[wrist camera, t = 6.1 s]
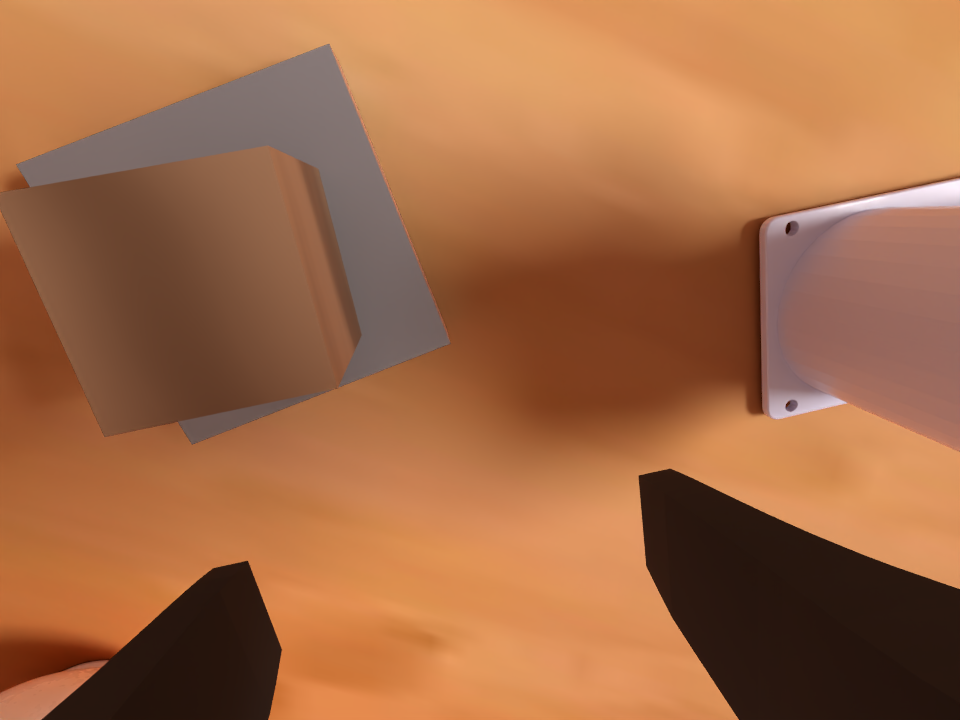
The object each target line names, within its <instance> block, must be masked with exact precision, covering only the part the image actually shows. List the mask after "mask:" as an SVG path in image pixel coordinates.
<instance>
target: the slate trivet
mask: <svg viewBox="0 0 960 720" xmlns="http://www.w3.org/2000/svg"><path fill="white" fill-rule="evenodd" d="M262 146H270V147H272V148H274V149H277V150H279V151H281V152H283V153H285V154H287V155H290V156H292V157H294V158H296V159H298V160H301V161H303V162H305V163H307V164H309V165H311V166H314V167H316V168H318V169H319V173H320V177H321V180H322V184H323V188H324V192H325V196H326V200H327V203H328V207H329V211H330V215H331V219H332V223H333V226H334V230H335V234H336V238H337V242H338V246H339V249H340V253H341V257H342V261H343V265H344V269H345V272H346V276H347V280H348V284H349V288H350V291H351V295H352V299H353V303H354V307H355V311H356V314H357V318H358V322H359V326H360V330H361V334H362V336H361V338H360V340H359V343H358V345H357V347H356V349H355V351H354V354H353V356H352V358H351V360H350V362H349V365H348V367H347V369H346V371H345V373H344V376H343V378H342V380H341V382H340V384H339V387H341V386H343V385H346V384H349V383H351V382H354V381H356V380H359V379H361V378H364V377H366V376H369V375H372V374H374V373H377V372H379V371H382V370H384V369H387V368H389V367H392V366H395V365H397V364H400V363H402V362H405V361H407V360H410V359H412V358H415V357H418V356H420V355H423V354H425V353H428V352H430V351H433V350H436V349H438V348H441V347H443V346H446V345H448V344H451V343H450V339H449V335H448V331H447V328H446V326H445V323H444V321H443V318H442V316H441V313H440V311H439V308H438V306H437V303H436V301H435V298H434V296H433V293H432V291H431V288H430V286H429V283H428V281H427V278H426V276H425V274H424V271H423V269H422V266H421V264H420V261H419V259H418V256H417V254H416V251H415V249H414V246H413V244H412V241H411V239H410V236H409V234H408V231H407V229H406V226H405V224H404V221H403V219H402V217H401V214H400V212H399V209H398V207H397V204H396V202H395V199H394V197H393V194H392V192H391V189H390V187H389V184H388V182H387V179H386V177H385V174H384V172H383V169H382V167H381V164H380V162H379V159H378V157H377V155H376V152H375V150H374V147H373V145H372V142H371V140H370V137H369V135H368V132H367V130H366V127H365V125H364V122H363V120H362V117H361V115H360V112H359V110H358V107H357V105H356V102H355V100H354V98H353V95H352V93H351V90H350V88H349V85H348V83H347V80H346V78H345V75H344V73H343V70H342V68H341V65H340V63H339V61H338V59H337V58H336V56H335V54H334V52H333V50H332V48H331V46H330V44H327V45H324V46H322V47H319V48H317V49H314V50H311V51H309V52H306V53H304V54H301V55H298V56H296V57H293V58H291V59H288V60H285V61H283V62H280V63H278V64H275V65H273V66H270V67H267V68H265V69H262V70H260V71H257V72H254V73H252V74H249V75H247V76H244V77H241V78H239V79H236V80H234V81H231V82H229V83H226V84H223V85H221V86H218V87H216V88H213V89H210V90H208V91H205V92H203V93H200V94H197V95H195V96H192V97H190V98H187V99H185V100H182V101H179V102H177V103H174V104H172V105H169V106H166V107H164V108H161V109H159V110H156V111H153V112H151V113H148V114H146V115H143V116H141V117H138V118H135V119H133V120H130V121H128V122H125V123H122V124H120V125H117V126H115V127H112V128H109V129H107V130H104V131H102V132H99V133H97V134H94V135H91V136H89V137H86V138H84V139H81V140H78V141H76V142H73V143H71V144H68V145H65V146H63V147H60V148H58V149H55V150H53V151H50V152H47V153H45V154H42V155H40V156H37V157H34V158H32V159H29V160H27V161H24V162H21V163H19V164H16V165H17V167H18V169H19V170H20V172H21V173H22V175H23V176H24V178H25V180H26V181H27V183H28V184H29V186H30V187H34V186H40V185H46V184H51V183H57V182H63V181H69V180H74V179H80V178H86V177H91V176H97V175H103V174H108V173H114V172H120V171H126V170H131V169H137V168H143V167H148V166H154V165H160V164H165V163H171V162H177V161H183V160H188V159H194V158H200V157H205V156H211V155H217V154H222V153H228V152H234V151H240V150H245V149H251V148H257V147H262ZM332 390H333V389H332ZM328 391H331V390H327V391H323V392H318V393H313V394H308V395H303V396H299V397H294V398H289V399H284V400H280V401H275V402H270V403H265V404H260V405H256V406H251V407H246V408H241V409H237V410H232V411H227V412H222V413H217V414H213V415H208V416H203V417H198V418H194V419H189V420H184V421H179V422H178V423H179V425H180V426H181V428H182V429H183V431H184V433H185V434H186V436H187V437H188V439H189V440H190V442H191V444H195V443H198V442H200V441H203V440H205V439H208V438H210V437H213V436H215V435H218V434H221V433H223V432H226V431H228V430H231V429H233V428H236V427H238V426H241V425H244V424H246V423H249V422H251V421H254V420H256V419H259V418H261V417H264V416H267V415H269V414H272V413H274V412H277V411H279V410H282V409H285V408H287V407H290V406H292V405H295V404H297V403H300V402H302V401H305V400H308V399H310V398H313V397H315V396H318V395H320V394H323V393H325V392H328Z"/></svg>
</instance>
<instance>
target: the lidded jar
mask: <svg viewBox="0 0 960 720" xmlns="http://www.w3.org/2000/svg"><path fill="white" fill-rule="evenodd" d="M108 661H109V660H100V661H92V662H87V663H83V664H79V665H76V666H74V667H71V668H68V669H67V670H65V671H63V672H58V673H53V674H49V675H46V676H42V677H38V678H35V679H33V680H30V681H27V682H24V683H21V684H19V685H16V686H14V687H12V688H10V689H7V690H5V691H3V692H1V693H0V720H41V719H42V718H44V717H45V716H46V715H47V714H48V713H49V712H51V711H52V710H53V709H54V708H55V707H56V706H58V705H59V704H60V703H61V702H62V701H63V700H65V699H66V698H67V697H68V696H69V695H70V694H72V693H73V692H74V691H75V690H76V689H77V688H78V687H80V686H81V685H82V684H83V683H84V682H85V681H87V680H88V679H89V678H90V677H91V676H92V675H93V674H95V673H96V672H97V671H98V670H99V669H100V668H101V667H102V666H104V665H105V664H106V663H107V662H108Z"/></svg>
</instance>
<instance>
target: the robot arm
mask: <svg viewBox="0 0 960 720" xmlns="http://www.w3.org/2000/svg"><path fill="white" fill-rule="evenodd" d="M789 222H790V224H791V229H790V231H789V233H788V234H786V231H785V228H786V225H787V224H788V223H789ZM759 240H760V299H761V359H762V409H763V412H764V413H765V415H767V416H769V417H770V418H773V419H782V418H786V417H790V416H795V415H799V414H803V413H807V412H812V411H816V410H820V409H824V408H829V407H833V406H837V405H841V404H846V403H849V404H851V405H854V406H856V407H858V408H861V409H863V410H865V411H868V412H870V413H872V414H874V415H877V416H879V417H881V418H884V419H886V420H888V421H890V422H893V423H895V424H897V425H900V426H902V427H904V428H906V429H909V430H911V431H913V432H916V433H918V434H920V435H923V436H925V437H927V438H929V439H932V440H934V441H936V442H939V443H941V444H943V445H945V446H948V447H950V448H952V449H955V450H957V451H959V452H960V178H955V179H950V180H945V181H941V182H936V183H931V184H926V185H922V186H917V187H912V188H907V189H903V190H898V191H893V192H888V193H883V194H879V195H874V196H869V197H864V198H860V199H855V200H850V201H845V202H840V203H836V204H831V205H826V206H821V207H817V208H812V209H807V210H802V211H797V212H793V213H788V214H783V215H778V216H774V217H771V218H768V219H767V220H766V221H764V222H763V224H762V226H761V228H760V233H759ZM790 400H791V401H790ZM788 401H790V404H789V405H788V407H786V408H785V406H786V403H787V402H788ZM639 486H640V498H641V509H642V521H643V533H644V544H645V556H646V566H647V568H648V570H649V572H650V574H651V576H652V579H653V581H654V583H655V585H656V587H657V589H658V591H659V593H660V595H661V597H662V599H663V601H664V603H665V604H666V606H667V608H668V610H669V612H670V614H671V616H672V618H673V620H674V621H675V623H676V624H677V626H678V627H679V629H680V631H681V632H682V634H683V635H684V637H685V638H686V640H687V641H688V643H689V644H690V646H691V647H692V649H693V651H694V652H695V654H696V655H697V657H698V658H699V660H700V661H701V663H702V664H703V666H704V667H705V669H706V670H707V672H708V673H709V675H710V676H711V678H712V679H713V681H714V683H715V684H716V686H717V687H718V689H719V690H720V692H721V693H722V695H723V696H724V698H725V699H726V701H727V702H728V704H729V705H730V707H731V708H732V710H733V711H734V713H735V714H736V716H737V717H738V719H739V720H960V589H957V588H954V587H952V586H949V585H946V584H943V583H940V582H937V581H934V580H931V579H928V578H926V577H923V576H920V575H917V574H914V573H911V572H908V571H905V570H903V569H900V568H897V567H894V566H891V565H889V564H886V563H883V562H881V561H878V560H875V559H873V558H870V557H867V556H865V555H862V554H860V553H857V552H855V551H852V550H850V549H847V548H845V547H843V546H840V545H838V544H835V543H833V542H830V541H828V540H825V539H823V538H821V537H818V536H816V535H813V534H811V533H809V532H806V531H804V530H802V529H800V528H797V527H795V526H793V525H790V524H788V523H786V522H784V521H781V520H779V519H777V518H775V517H773V516H770V515H768V514H766V513H764V512H762V511H760V510H758V509H755V508H753V507H751V506H749V505H747V504H745V503H743V502H741V501H739V500H736V499H734V498H732V497H730V496H728V495H726V494H724V493H722V492H720V491H718V490H716V489H714V488H712V487H709V486H707V485H705V484H703V483H701V482H699V481H697V480H695V479H693V478H690V477H688V476H686V475H684V474H682V473H679V472H677V471H675V470H672V469H667V470H662V471H657V472H653V473H648V474H644V475H639ZM281 651H282V649H281V646H280V644H279V641H278V638H277V636H276V633H275V631H274V628H273V625H272V623H271V620H270V617H269V615H268V612H267V610H266V607H265V604H264V602H263V599H262V597H261V594H260V591H259V589H258V586H257V583H256V581H255V578H254V576H253V573H252V570H251V568H250V565H249V563H248V561H245V562H240V563H236V564H231V565H226V566H222V567H217V568H213V569H212V570H211V571H209V572H208V573H207V574H205V575H204V576H203V577H202V578H200V579H199V580H198V581H197V582H196V583H194V584H193V585H192V586H191V587H190V588H189V589H188V590H186V591H185V592H184V593H183V594H182V595H181V596H180V597H179V598H177V599H176V600H175V601H174V602H173V603H172V604H171V605H170V606H169V607H167V608H166V609H165V610H164V611H163V612H162V613H161V614H160V615H159V616H158V617H156V618H155V619H154V620H153V621H152V622H151V623H150V624H149V625H148V626H147V627H145V628H144V629H143V630H142V631H141V632H140V633H139V634H138V635H137V636H136V637H134V638H133V639H132V640H131V641H130V642H129V643H128V644H127V645H126V646H124V647H123V648H122V649H121V650H120V651H119V652H118V653H117V654H116V655H115V656H113V657H112V658H111V659H110V660H109V661H108V662H107V663H106V664H105V665H104V666H102V667H101V668H100V669H99V670H98V671H97V672H96V673H95V674H93V675H92V676H91V677H90V678H89V679H88V680H87V681H85V682H84V683H83V684H82V685H81V686H80V687H78V688H77V689H76V690H75V691H74V692H73V693H72V694H70V695H69V696H68V697H67V698H66V699H65V700H63V701H62V702H61V703H60V704H59V705H58V706H56V707H55V708H54V709H53V710H52V711H51V712H49V713H48V714H47V715H46V716H45V717H44V718H42V719H41V720H268V718H269V714H270V710H271V705H272V700H273V695H274V691H275V686H276V680H277V674H278V669H279V663H280V657H281Z"/></svg>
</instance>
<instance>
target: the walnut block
mask: <svg viewBox="0 0 960 720" xmlns="http://www.w3.org/2000/svg"><path fill="white" fill-rule="evenodd" d="M0 210H1V212H2V214H3V217H4V219H5V221H6V223H7V225H8V228H9V230H10V232H11V234H12V236H13V238H14V241H15V243H16V245H17V247H18V249H19V252H20V254H21V256H22V258H23V260H24V262H25V265H26V267H27V269H28V271H29V273H30V276H31V278H32V280H33V282H34V284H35V286H36V289H37V291H38V293H39V295H40V297H41V300H42V302H43V304H44V306H45V308H46V310H47V313H48V315H49V317H50V319H51V321H52V324H53V326H54V328H55V330H56V332H57V334H58V337H59V339H60V341H61V343H62V345H63V348H64V350H65V352H66V354H67V356H68V358H69V361H70V363H71V365H72V367H73V369H74V372H75V374H76V376H77V378H78V380H79V382H80V385H81V387H82V389H83V391H84V393H85V396H86V398H87V400H88V402H89V404H90V406H91V409H92V411H93V413H94V415H95V417H96V419H97V422H98V424H99V426H100V428H101V430H102V433H103V435H104V437H108V436H112V435H117V434H122V433H127V432H131V431H136V430H141V429H146V428H151V427H155V426H160V425H165V424H170V423H174V422H179V421H184V420H189V419H194V418H198V417H203V416H208V415H213V414H217V413H222V412H227V411H232V410H237V409H241V408H246V407H251V406H256V405H260V404H265V403H270V402H275V401H280V400H284V399H289V398H294V397H299V396H303V395H308V394H313V393H318V392H323V391H327V390H332V389H337V388H338V387H339V384H340V382H341V380H342V378H343V376H344V373H345V371H346V369H347V367H348V365H349V362H350V360H351V358H352V356H353V354H354V351H355V349H356V347H357V345H358V343H359V340H360V338H361V336H362V334H361V330H360V326H359V322H358V318H357V314H356V311H355V307H354V303H353V299H352V295H351V291H350V288H349V284H348V280H347V276H346V272H345V269H344V265H343V261H342V257H341V253H340V249H339V246H338V242H337V238H336V234H335V230H334V226H333V223H332V219H331V215H330V211H329V207H328V203H327V200H326V196H325V192H324V188H323V184H322V180H321V177H320V173H319V169H318V168H316V167H314V166H311V165H309V164H307V163H305V162H303V161H301V160H298V159H296V158H294V157H292V156H290V155H287V154H285V153H283V152H281V151H279V150H277V149H274V148H272V147H270V146H262V147H257V148H251V149H245V150H240V151H234V152H228V153H222V154H217V155H211V156H205V157H200V158H194V159H188V160H183V161H177V162H171V163H165V164H160V165H154V166H148V167H143V168H137V169H131V170H126V171H120V172H114V173H108V174H103V175H97V176H91V177H86V178H80V179H74V180H69V181H63V182H57V183H51V184H46V185H40V186H34V187H29V188H23V189H17V190H12V191H6V192H0Z"/></svg>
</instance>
